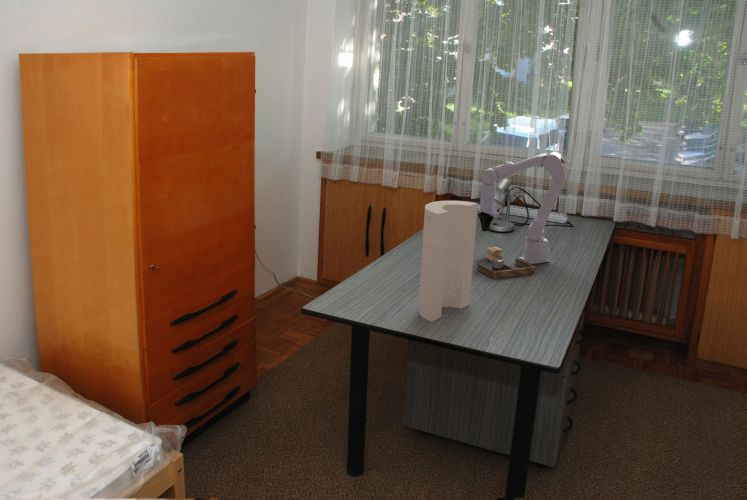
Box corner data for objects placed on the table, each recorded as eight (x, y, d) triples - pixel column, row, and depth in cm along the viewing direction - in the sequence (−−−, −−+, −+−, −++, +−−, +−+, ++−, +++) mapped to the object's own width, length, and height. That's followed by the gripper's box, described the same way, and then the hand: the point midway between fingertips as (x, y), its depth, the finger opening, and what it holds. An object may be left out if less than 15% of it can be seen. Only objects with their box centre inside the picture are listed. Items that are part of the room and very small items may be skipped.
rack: (516, 264, 290) (517, 258, 290) (534, 273, 281) (535, 266, 280) (476, 269, 282) (477, 263, 282) (494, 278, 273) (494, 272, 272)
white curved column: (471, 305, 246) (433, 322, 231) (444, 296, 253) (405, 312, 238) (480, 203, 235) (440, 214, 220) (451, 197, 243) (411, 207, 227)
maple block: (494, 257, 298) (495, 246, 297) (501, 260, 295) (502, 249, 293) (485, 258, 297) (486, 247, 295) (492, 261, 293) (493, 250, 291)
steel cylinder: (497, 270, 282) (499, 258, 281) (504, 274, 278) (505, 261, 277) (488, 271, 280) (489, 259, 279) (495, 275, 276) (496, 262, 275)
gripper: (469, 194, 299) (466, 227, 303) (490, 203, 287) (487, 236, 291) (483, 193, 302) (480, 225, 306) (504, 201, 290) (501, 234, 294)
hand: (484, 230), depth 299 cm, fingers closed
